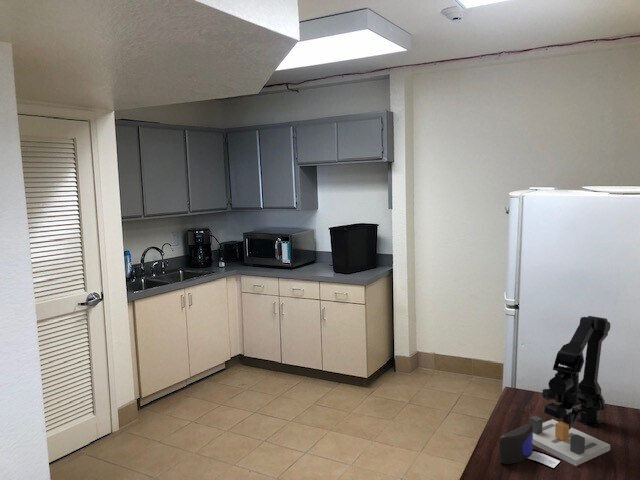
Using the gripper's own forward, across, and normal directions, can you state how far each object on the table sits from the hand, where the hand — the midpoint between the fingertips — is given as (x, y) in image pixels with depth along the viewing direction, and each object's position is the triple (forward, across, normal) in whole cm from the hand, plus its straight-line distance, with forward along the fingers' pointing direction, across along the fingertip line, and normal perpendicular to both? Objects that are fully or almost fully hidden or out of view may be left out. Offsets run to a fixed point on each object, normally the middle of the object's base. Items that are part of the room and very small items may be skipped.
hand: (568, 429), depth 180 cm
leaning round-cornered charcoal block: (+5, +22, -3) cm, 23 cm away
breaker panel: (+5, +2, 0) cm, 5 cm away
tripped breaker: (+2, +3, 0) cm, 4 cm away
